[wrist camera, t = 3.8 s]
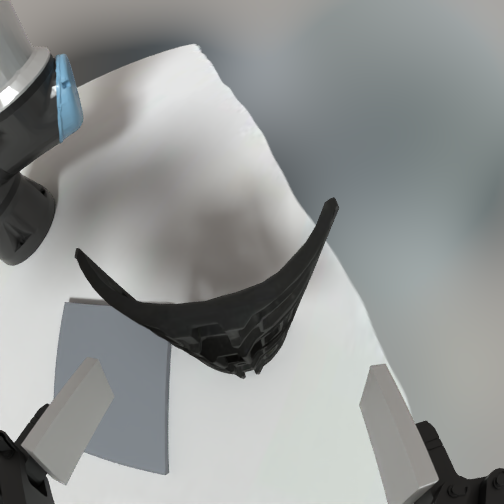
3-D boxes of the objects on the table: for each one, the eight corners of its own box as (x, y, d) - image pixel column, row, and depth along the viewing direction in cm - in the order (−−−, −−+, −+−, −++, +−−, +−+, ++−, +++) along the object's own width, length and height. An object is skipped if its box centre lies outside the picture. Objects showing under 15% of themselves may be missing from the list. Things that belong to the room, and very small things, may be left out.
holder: (277, 287, 29) (285, 128, 12) (309, 350, 26) (391, 265, 8) (180, 328, 28) (59, 221, 10) (207, 395, 24) (80, 396, 7)
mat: (69, 304, 29) (64, 302, 29) (173, 311, 29) (170, 308, 28) (58, 438, 21) (54, 439, 20) (168, 472, 20) (165, 475, 19)
